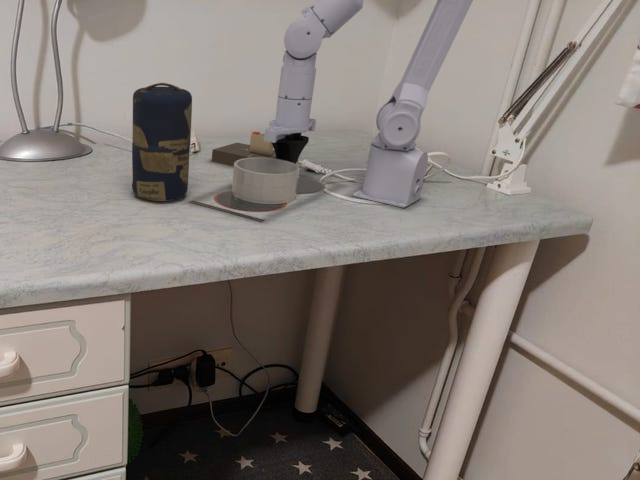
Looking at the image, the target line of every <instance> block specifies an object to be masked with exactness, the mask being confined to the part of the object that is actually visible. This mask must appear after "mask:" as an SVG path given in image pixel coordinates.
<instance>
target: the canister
mask: <svg viewBox="0 0 640 480" xmlns="http://www.w3.org/2000/svg"><path fill="white" fill-rule="evenodd" d="M192 116H193V96H192V93H191V92H190V91H188V90H187V89H184V88H181V87H179V86H176V85H174V84H171V83H168V82H158V83H154V84H151V85H148V86H145V87H140V88H138V89H136V90H135V91H134V92H133V94H132V144H131V167H132V169H131V170H132V183H131V189H132V192H133V194H134V195H135V196H137V197H139V198H141V199H144V200H148V201H155V202H168V201H174V200H178V199H181V198H183V197H184V196H186V194H187V192H188V187H189V174H190V173H189V170H190V151H191V150H190V148H191V140H192V139H191V136H192V119H193V118H192Z"/></svg>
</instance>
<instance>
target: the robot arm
mask: <svg viewBox="0 0 640 480" xmlns="http://www.w3.org/2000/svg"><path fill="white" fill-rule="evenodd" d="M473 1H474V0H437V1H436V3H435V5H434V7H433V9H432V11H431V14H430V16H429V18H428V20H427V23H426V24H425V27H424V29H423V31H422V34H421V36H420V38H419V40H418V42H417V44H416V47H415V49H414V51H413V53H412V55H411V58H410V60H409V62H408V64H407V66H406V68H405V71H404V73H403V75H402V77H401V79H400V81H399V82H398V84H397V85H396V87H395V88H394V90H393V92H392V95H391V96H390V98H389V99H388V100H387V102H385V103H384V104H383V105H382V106H381V107H380V108H379V109H378V112H377V114H376V119H375V123H376V128H377V130H378V131H379V132H378V133H377V135H376V136H375V137H374V138H372V139H371V141H370V142H371V143H370V148H369V153H368V159H367V163H366V169H365V174H364V179H363V184H362V188H361V189H359V190H356V191H355V192H353V193H352V196H353V197H355V198H360V199H364V200H369V201H373V202H376V203H381V204H386V205H389V206H394V207H399V208H402V209H403V208H407V207H408V206H410V205H411V204H413V203H415V202H417V201H418V200H420V199H422V196H421V193H422V188H423V185H424V181H425V177H426V171H427V169H428V168H427V167H428V161H429V154H428V152H426V151H425V150H424V151H423V150H419V149H418V148H416V146H417V144H416V140H417V138H418V136H419V134H420V132H421V126H422V125H421V119H422V115H423V112H424V111H425V108H426V105H427V100H428V98H429V94H430V91H431V88H432V86H433V84H434V82H435V80H436V78H437V76H438V74H439V72H440V69H441V68H442V66H443V65H444V64H443V63H444V62H445V60H446V58H447V55H448V53H449V51H450V49H451V47H452V45H453V43H454V40H455V39H456V36H457V35H458V32H459V31H460V29H461V26H462V24H463V22H464V20H465V18H466V16H467V14H468V11H469V10H470V8H471V5H472V4H473ZM363 6H364V0H315V1H314V2H313V3H312V4H311V5H310V6H309V7H307V6H304V7H303V8H302V9H301V10H300V13H301V14H302V15H303V17H298V18H296V19H294V20H293V21H292V23H290V24H289V26H288V27H287V29H286V31H285V33H284V39H283V42H284V43H283V44H284V47H285V49H286V50H285V51H284V53H283V55H282V56H283V57H282V63H283V65H282V66H281V68H280V75H279V76H280V77H279V84H278V85H279V86H278V93H277V103H276V111H275V119H272V120H269V121H268V126H269V127H267V128H265V129H264V133H263V134H264V141H266V142H271V143H272V145H273V150H274V151H275V154H276V159H281V160H285V161H289V162H292V163H295V164H296V165H297V163H298V160H299V158H300V156H301V154H302V153H303V151H304V149H305V147H306V146H307V145H308V143H309V139H310V137H309V136H306V135H302V133H306V132H314V131H316V126H317V119H315V118H311V117H310V115H311V110H312V102H313V97H314V96H313V95H314V88H315V82H316V81H315V80H316V74H317V67H316V61H317V54H318V51H320V48H321V46H322V41H323V40H324V39H327V38H331V37H332V36H334V35H335V34H336V33H337V32H338V31H339V30H340V29H341V28H342V27H344V26H345V25H346V24H347V23H348V22H349V21H351V19H353V17H354V16H355V15H357V14H358V13H359V12H360V11H361V10H362V9H363Z"/></svg>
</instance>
